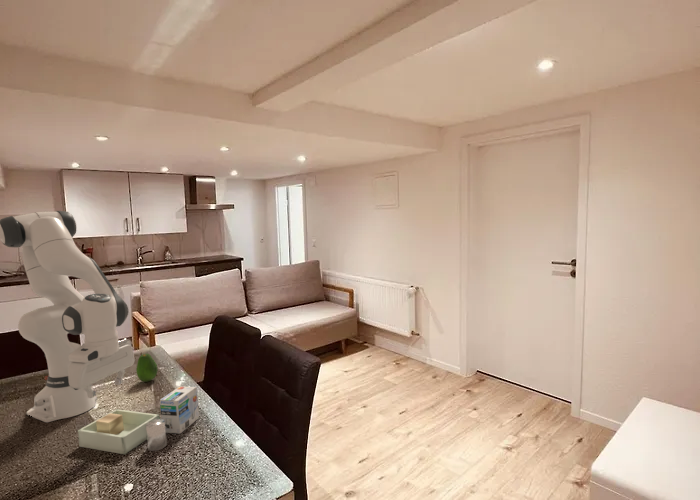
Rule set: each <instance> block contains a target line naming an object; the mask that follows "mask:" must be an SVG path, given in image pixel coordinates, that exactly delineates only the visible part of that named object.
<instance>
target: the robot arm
mask: <svg viewBox="0 0 700 500" xmlns="http://www.w3.org/2000/svg"><path fill="white" fill-rule="evenodd" d="M76 234H77V222H76V219H75V217H74V216H73V215H72V213H71V212H69V211H65V210H56V211H37V212H33V213H26V214H19V215H15V216H12V215H11V216H6V217H3V218H1V219H0V242H1V243H2V245H4V246H6V247H7V248H14V249H15V248H21V247H22V248H21V255H22V261H23V267H24V270H25V274H26V277H27V279H28V282H29V285H30V288H31V291H32V293H33V294H35V296H39V297H41V298H45V299H47V300H49V301H50V302H52V304H53V305H48V306H44V307H39V308H36V309H33V310H30V311H29V312H26V313H24V314H23V315H22V316H21V317H20V319H19V321H18V325H17V328H18V332H19V334H20V336H22V338H23V339H25V340H27V341H29V342H31V343H34V344H35V345H37V346H38V348H40V349H41V350H42V352H43V353H44V357H45V359H46V363H47V369H48V375H46V376H44V380H45V381H46V385H45V386H44V387H43V389H41V390H40V391H39V392H38V393H36V395H35V396H34V402H33V403H34V404H33V405H34V406H33V407H31V408H30V409H28V410H27V411H26V415H27V416H29V415H30V417H31V416H32V417H31V418H34V419H37V420H39V421H42V422H44V423H50V422H53V421H57V420H61V419H62V420H63V419H67V418H72V417H75V416H79V415H81V414H83V413H86V412H88V411H89V410H91V409H93V408H94V407H95V406H96V401H97V399H98V396H97V391H96V390H94V388H93V387H94V386H93V384H94V383H97V382H98V381H101V380H103V379H106V378H108V377H110V376H112V375H114V374H117V375H116V377H115V378H114V380H113V382H114V385H117V386H119V385H121V384H123V378H124V376H125V373H126V369H128V368H129V367H132V366H133V365H134V363H135V360H136V359H135V354H134V350H133V347H132V340H130V339H129V338H128V339H127V338H123V339H121V340H119V333H118V329H117V328H119V327H121V326H122V325H123V324H124V323H125V322H126V320H127V318H128V316H129V307H128V305H127V303H126V301H125V300H124V299H123V298H122V296H120V295H119V294H118V293H117V291H116V290H115V288H114V286H112V284H111V282H110V281H109V279H108V278H107V276H106V275H105V274H104V272H103V270H102V269H101V267H100V266H99V265H98V264H97V262H96V261H95V260H94V259H93V258H91V257H90V256H87V255H86V254H84V253H83V252H82V251H81V250H80V249H79V247H78V246H77V245H76V243H75V241H74V238H73V237H74V236H75V235H76ZM69 277H74V278H77V279H81V280H83V281H85V282H86V283H87V284H88V285H89V286H90V288H91V289H92V291H93V292H94V293H92V294H91V293H90V294H88V295H86V296H84V295H83V294H82V293H80V292H79V291H78V290H77V289H76V288H75V287H74V285H73V284H72V282H71V280H70V278H69ZM68 334H70V335H72V336H73V335H74V336H77V335H84V343H82V344H79V343H78V342H77V343H76V342H72V341H70V340H69V337H68Z"/></svg>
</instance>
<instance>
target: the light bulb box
mask: <svg viewBox="0 0 700 500" xmlns="http://www.w3.org/2000/svg"><path fill="white" fill-rule="evenodd" d="M159 405H160V406H159V407H160V408H159V409H160V416H161V417H160V419H163V420H165V429H166V434H182V433H183V432H184V431H185V430H187V429H188V428H189V427H190V426H191V425H193V424H194V423H195V422H196V421H197V420H198V419H199V418H200V413H199V410H200V409H199V400H198V389H197V386H184V385H183V386H182V385H181V386H178V387H177V388H174V390H173V391H170V392H169V393H168V394H166V395H165V396H163V397H162V398H160V399H159Z"/></svg>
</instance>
